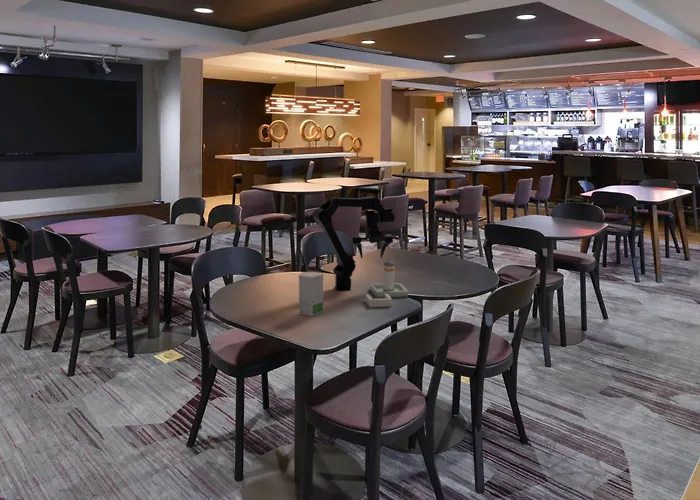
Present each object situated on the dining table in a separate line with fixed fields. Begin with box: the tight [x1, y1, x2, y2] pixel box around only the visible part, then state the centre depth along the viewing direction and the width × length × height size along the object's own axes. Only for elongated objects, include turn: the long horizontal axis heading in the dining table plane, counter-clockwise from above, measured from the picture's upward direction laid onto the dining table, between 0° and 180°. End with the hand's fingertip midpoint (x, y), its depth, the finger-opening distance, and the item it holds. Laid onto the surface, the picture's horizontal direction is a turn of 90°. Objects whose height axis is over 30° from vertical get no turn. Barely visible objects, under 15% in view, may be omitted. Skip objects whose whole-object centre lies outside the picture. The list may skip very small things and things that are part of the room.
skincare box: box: [298, 271, 324, 317], centre depth 225 cm, size 8×7×16 cm
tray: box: [369, 282, 409, 299], centre depth 256 cm, size 14×14×2 cm
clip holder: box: [364, 293, 393, 308], centre depth 240 cm, size 9×8×3 cm
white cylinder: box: [382, 260, 396, 292], centre depth 254 cm, size 5×5×13 cm
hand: (371, 257), depth 266 cm, fingers open, 9 cm apart
